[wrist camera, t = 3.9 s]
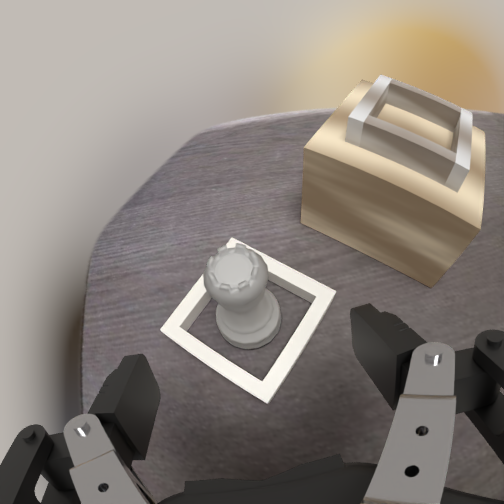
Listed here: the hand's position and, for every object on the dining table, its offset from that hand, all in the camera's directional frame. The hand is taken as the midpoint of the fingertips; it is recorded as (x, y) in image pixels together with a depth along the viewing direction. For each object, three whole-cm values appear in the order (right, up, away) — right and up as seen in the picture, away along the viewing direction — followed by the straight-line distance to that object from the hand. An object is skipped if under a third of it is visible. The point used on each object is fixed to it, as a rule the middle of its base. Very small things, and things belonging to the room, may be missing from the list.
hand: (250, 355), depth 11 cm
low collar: (0, -1, +10) cm, 10 cm away
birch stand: (+12, +8, +14) cm, 20 cm away
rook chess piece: (0, -1, +10) cm, 10 cm away
